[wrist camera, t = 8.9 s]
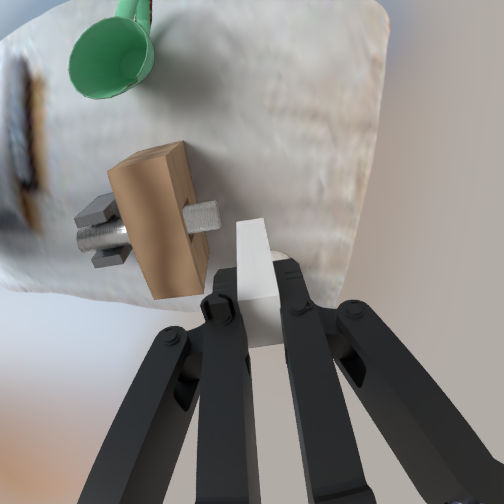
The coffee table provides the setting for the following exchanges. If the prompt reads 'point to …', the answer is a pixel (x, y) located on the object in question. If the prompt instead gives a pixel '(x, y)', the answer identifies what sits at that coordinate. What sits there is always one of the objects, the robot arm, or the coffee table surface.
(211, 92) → the coffee table surface
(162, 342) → the robot arm
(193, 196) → the beam
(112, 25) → the mug
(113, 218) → the cradle
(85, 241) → the axle
